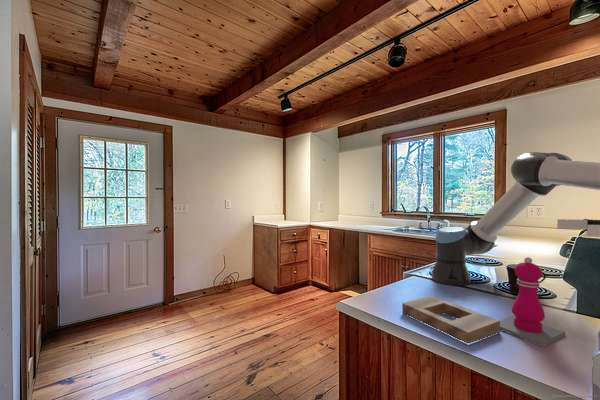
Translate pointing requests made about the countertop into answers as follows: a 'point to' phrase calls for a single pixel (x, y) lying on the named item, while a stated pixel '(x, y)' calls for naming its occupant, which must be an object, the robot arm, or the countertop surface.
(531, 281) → the pepper mill
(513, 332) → the grey mat
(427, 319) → the frame
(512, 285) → the coffee mug
